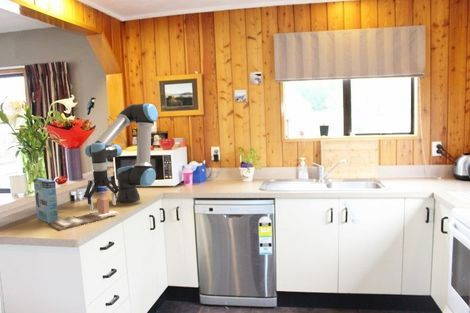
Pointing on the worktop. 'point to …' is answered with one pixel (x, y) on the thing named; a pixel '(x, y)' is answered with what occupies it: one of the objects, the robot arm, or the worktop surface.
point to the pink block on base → (103, 208)
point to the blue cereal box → (46, 200)
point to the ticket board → (74, 221)
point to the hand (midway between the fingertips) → (103, 207)
